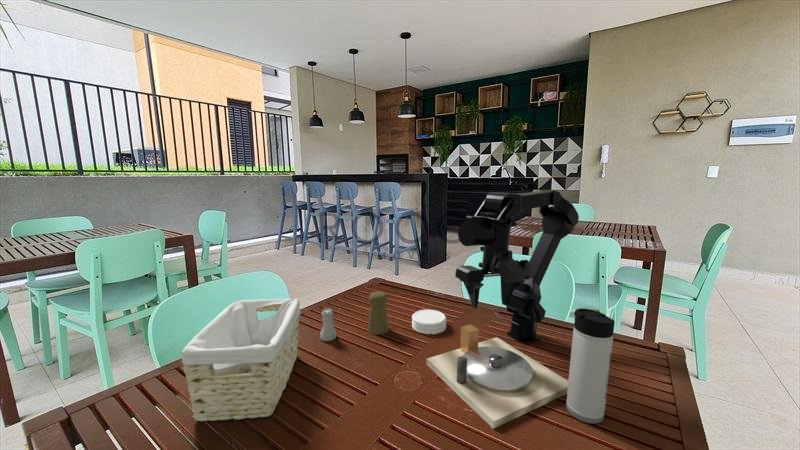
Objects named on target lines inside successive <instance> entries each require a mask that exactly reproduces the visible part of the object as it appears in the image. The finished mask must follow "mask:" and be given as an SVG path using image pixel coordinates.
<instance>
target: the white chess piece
mask: <svg viewBox="0 0 800 450" xmlns="http://www.w3.org/2000/svg"><path fill="white" fill-rule="evenodd" d="M334 314H335V313H334V312H333V308H331V307H330V308H329V307H328V308H327V307H326V308H323V309H322V312H321V316H322V328H321V331H320V332H319V335H320V336H319V339H320V340H321V341H323V342H331V341H334V340H335V339H336V338H337V331H336V329H335V327H334V324H333V320H334V318H333V315H334Z"/></svg>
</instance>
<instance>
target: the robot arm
mask: <svg viewBox="0 0 800 450" xmlns="http://www.w3.org/2000/svg"><path fill="white" fill-rule="evenodd" d="M537 208H538V212H539V214H540V216H541V217H542V218H541V226H542V233H541V234H540V237H539V239H538V242H537V244H536V246H535V248H534V250H533V252H532V255H531V256H530V258H529V260H528V259H520V260H517V259H514V258H513V255H514V253H513V250H511V249H509V248H510V247H509V246H510V238H511V230H512V229H511V228H512V227H513V228H515V227H517V226H518V224H517V222H516V221H515V220H514V219H513V218H514V217H517V216H519V215H520V214H521V213H522V212H523V211H524V210H529V209H537ZM579 218H580V216H579V213H578V211H577V208H575V206H574V204H572V203H571V202H570V201H568V200H567V199H566V198H564V197H563V196H562V194H561V192H560V191H558V190H554V189H541V190H537V191H531V192H521V193H512V192H511V193H509V192H497V191H495V192H493V191H491V192H488V193H487V194H486V197H485V199H484V200H483V202H482V203H481V205H480V206H479V207H478V210H477V211H476V213H475V214H474V215H466V217H465V221H463V222H462V223H461V224H460V226H459V228H458V230H457V235H458V236H457V238H458V240H459V242H460V244H461V245H462V246H464V247H475V246H476V247H478V246H479V247H480V248H479V250H480V251H481V252H483V253H482V261H481V262H478V268H477V267H475V266H473V265H458V267H456V270H455V276H454V277H455V278H457V279H459V281H461V282H463V285H464V287H465V289H466V292H467V295H468V297H469V300H470V303H471V306H472V308H473V309H475V310H476V309H478V305H479V297H480V289H481V288H483V286H484V285H485V284H484V283H482V282H483V281H484V278H491V277H500V295H501V296H500V297H501V304H502V305H503V306H505V307H506V311H507V312H508V313H510V314H512V316H511V322H510V323H511V324H510V330H507V332H506V334H507V335H509V336H510V337H512V338H513V339H516V340H517V341H519V342H521V343H522V344H525V345H526V344H528V343H531V342H535V341H537V340H539V339H541V338H542V337H541V335H539V334H538V333H537V326H538V323H542V320H545V316H546V310H545V308H544V307H543V305H542V304H541V303H540V302H541V300H542V294H541V287H540V286H541V284H542V282H543V279H544V278H545V275H546V274H547V271H548V269H549V267H550V264H551V263H552V260H553V258H554V256H555V253H556V251H557V249H558V247H559V245H560V242H561V240H562V239H563V238H566V237H567V236H568V235H570V234H571V233H572V232H573V230H574V229H575V227H576V225H577V224H578V222H579Z"/></svg>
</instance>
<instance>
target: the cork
mask: <svg viewBox="0 0 800 450" xmlns="http://www.w3.org/2000/svg"><path fill="white" fill-rule="evenodd" d="M368 302H369V304H370V309H369V315H368V317H369V318H368V325H367V333H369V334H371V335H374V336H379V335H385V334H387V333H388V332H389V329H390V327H389V320H388V313H387V307H386V304H387V303H388V295H387V294H386V293H385V292H383V291H374V292H371V293H370V294H369V296H368Z"/></svg>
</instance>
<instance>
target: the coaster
mask: <svg viewBox="0 0 800 450" xmlns="http://www.w3.org/2000/svg"><path fill="white" fill-rule="evenodd" d="M411 328H412V329H413V330H414V331H416V332H417V333H418V334H419V333H420V334H423V335H429V334H432V335H438V333H439V334H441V333H443V332H444V331H446V328H447V315H445V314H444V313H443V312H441V311H439V310H435V309H420V310H417V311H415V312H413V314H412V316H411Z"/></svg>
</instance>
